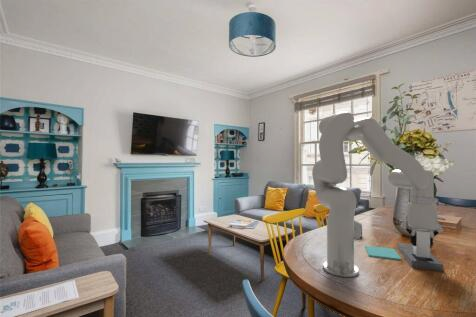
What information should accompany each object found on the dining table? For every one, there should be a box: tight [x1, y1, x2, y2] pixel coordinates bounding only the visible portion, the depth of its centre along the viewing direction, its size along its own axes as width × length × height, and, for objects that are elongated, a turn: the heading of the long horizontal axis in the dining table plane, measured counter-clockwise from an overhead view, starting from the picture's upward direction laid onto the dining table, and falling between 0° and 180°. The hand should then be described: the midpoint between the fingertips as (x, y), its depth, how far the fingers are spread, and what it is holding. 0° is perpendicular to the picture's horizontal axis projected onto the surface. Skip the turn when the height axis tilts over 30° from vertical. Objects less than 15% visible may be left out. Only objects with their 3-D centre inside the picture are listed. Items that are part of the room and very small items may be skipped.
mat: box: [364, 245, 402, 261], centre depth 108 cm, size 12×12×1 cm
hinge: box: [354, 219, 363, 240], centre depth 135 cm, size 17×5×10 cm, turn 47°
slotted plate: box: [396, 242, 444, 272], centre depth 102 cm, size 22×10×2 cm, turn 159°
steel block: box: [413, 229, 431, 258], centre depth 97 cm, size 4×4×10 cm
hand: (421, 245), depth 97 cm, fingers closed on steel block, 4 cm apart
